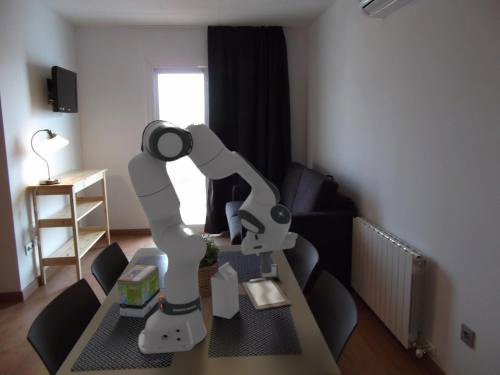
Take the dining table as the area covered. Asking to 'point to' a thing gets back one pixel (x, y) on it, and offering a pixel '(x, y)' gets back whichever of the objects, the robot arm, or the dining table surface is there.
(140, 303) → the tea box
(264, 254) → the microphone
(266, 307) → the clipboard
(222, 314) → the milk carton
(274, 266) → the picture frame
